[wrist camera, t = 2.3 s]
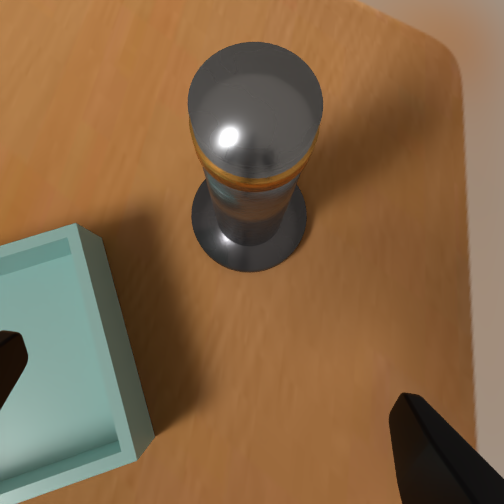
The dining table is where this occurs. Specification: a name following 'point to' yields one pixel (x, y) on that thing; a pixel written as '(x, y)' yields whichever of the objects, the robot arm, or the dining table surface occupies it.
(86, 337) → the bin
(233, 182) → the strut
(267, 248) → the dark metal disc
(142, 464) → the dining table surface
